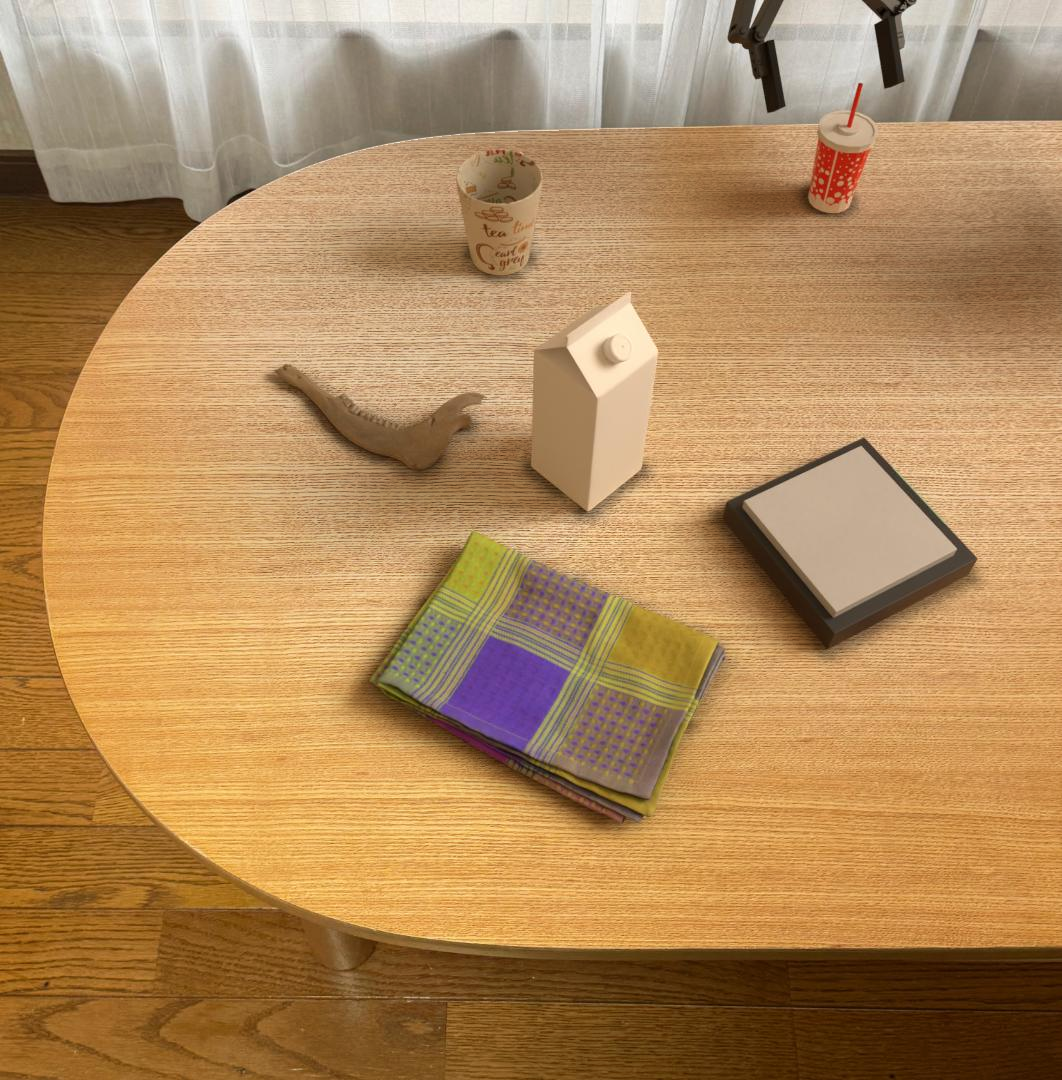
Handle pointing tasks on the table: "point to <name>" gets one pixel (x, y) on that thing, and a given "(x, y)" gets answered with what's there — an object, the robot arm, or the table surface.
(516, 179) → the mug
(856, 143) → the beverage cup
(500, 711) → the dish towel
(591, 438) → the milk carton
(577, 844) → the table surface
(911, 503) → the kitchen scale
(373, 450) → the jawbone
